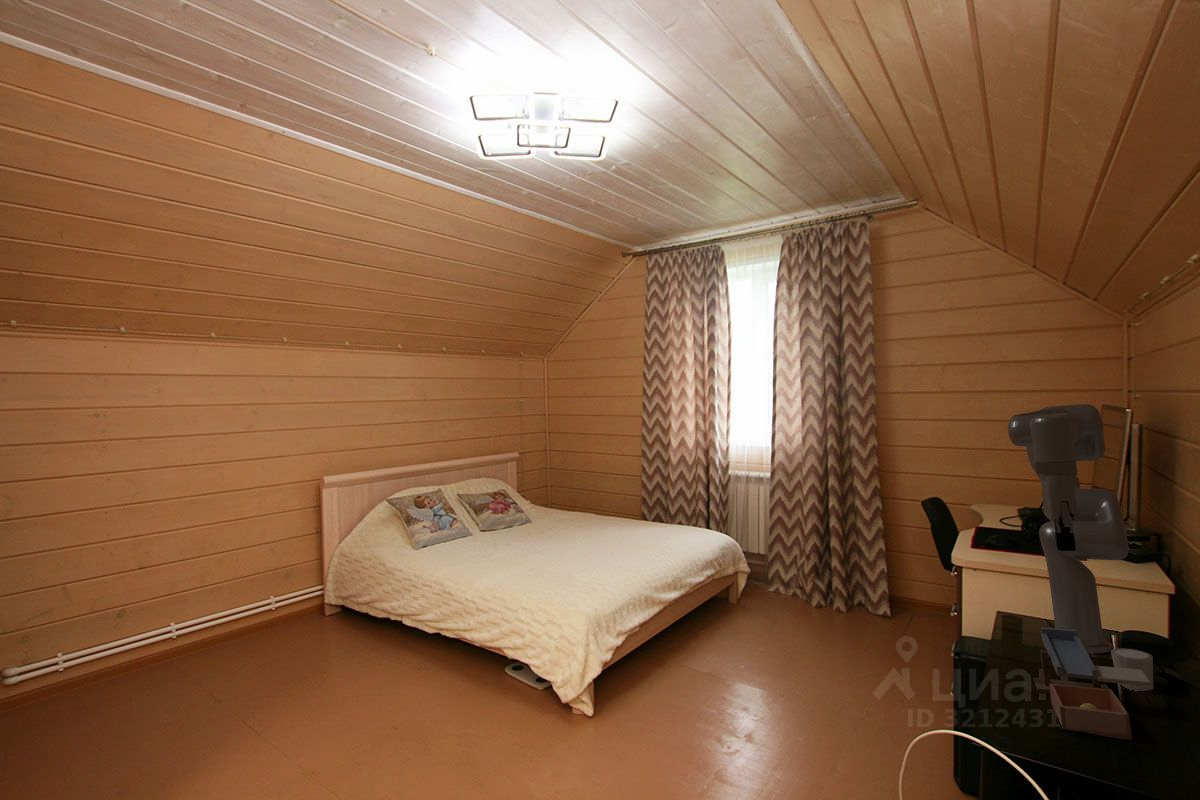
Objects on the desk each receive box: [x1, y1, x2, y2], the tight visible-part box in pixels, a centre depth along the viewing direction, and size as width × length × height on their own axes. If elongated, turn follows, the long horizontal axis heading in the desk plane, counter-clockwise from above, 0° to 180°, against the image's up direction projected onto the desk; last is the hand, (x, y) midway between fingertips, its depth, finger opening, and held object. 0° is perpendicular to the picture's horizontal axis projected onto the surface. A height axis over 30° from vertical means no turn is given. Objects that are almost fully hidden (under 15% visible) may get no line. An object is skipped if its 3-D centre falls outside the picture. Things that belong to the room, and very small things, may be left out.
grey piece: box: [1040, 627, 1151, 686], centre depth 127 cm, size 17×15×4 cm
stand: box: [1032, 648, 1110, 695], centre depth 128 cm, size 6×13×8 cm, turn 61°
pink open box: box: [1049, 683, 1133, 741], centre depth 115 cm, size 11×10×4 cm
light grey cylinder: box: [1110, 647, 1154, 692], centre depth 128 cm, size 7×7×7 cm
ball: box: [1079, 703, 1098, 710], centre depth 114 cm, size 3×3×3 cm
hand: (1066, 549), depth 134 cm, fingers closed
